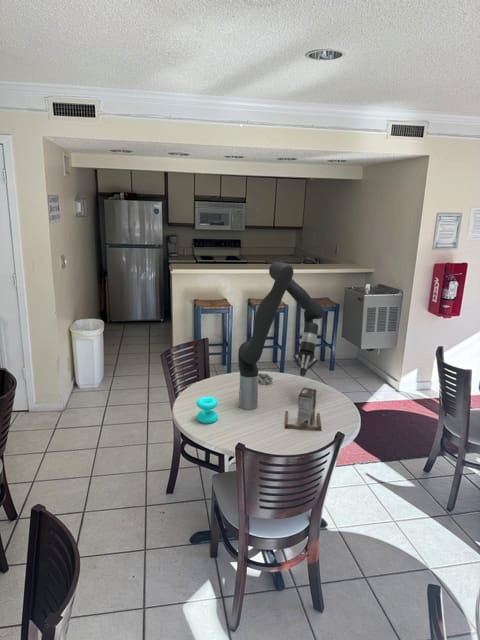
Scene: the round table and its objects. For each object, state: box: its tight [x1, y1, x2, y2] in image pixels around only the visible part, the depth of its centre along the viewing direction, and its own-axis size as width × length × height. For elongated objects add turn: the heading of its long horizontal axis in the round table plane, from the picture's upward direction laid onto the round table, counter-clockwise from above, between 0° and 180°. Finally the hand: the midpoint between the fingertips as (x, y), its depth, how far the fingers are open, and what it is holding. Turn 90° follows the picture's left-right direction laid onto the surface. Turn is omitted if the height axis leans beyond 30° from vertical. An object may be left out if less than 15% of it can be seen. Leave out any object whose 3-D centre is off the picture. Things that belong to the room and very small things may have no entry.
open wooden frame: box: [284, 410, 322, 432], centre depth 206 cm, size 16×14×2 cm
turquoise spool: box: [196, 396, 219, 424], centre depth 206 cm, size 10×10×10 cm
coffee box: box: [297, 387, 317, 425], centre depth 203 cm, size 9×6×16 cm
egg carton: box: [258, 373, 274, 386], centre depth 252 cm, size 11×8×4 cm
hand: (302, 376), depth 218 cm, fingers closed
